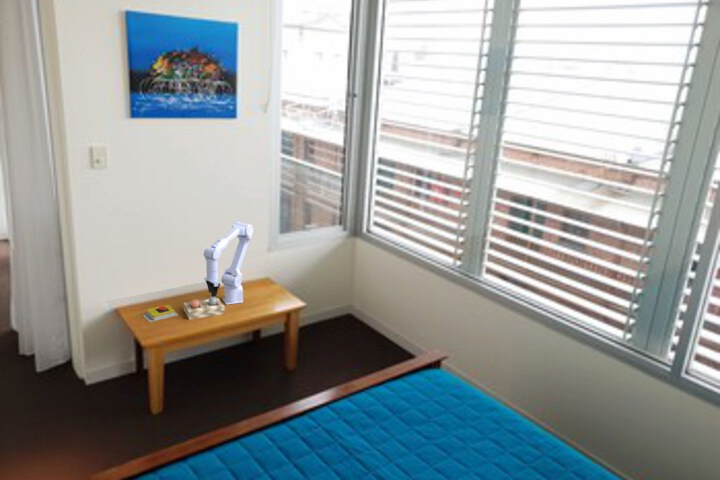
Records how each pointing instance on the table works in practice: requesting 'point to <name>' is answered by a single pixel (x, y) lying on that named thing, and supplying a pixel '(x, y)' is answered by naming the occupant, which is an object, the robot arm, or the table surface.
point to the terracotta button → (194, 304)
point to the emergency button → (160, 313)
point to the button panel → (204, 309)
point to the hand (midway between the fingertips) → (212, 294)
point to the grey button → (212, 301)
